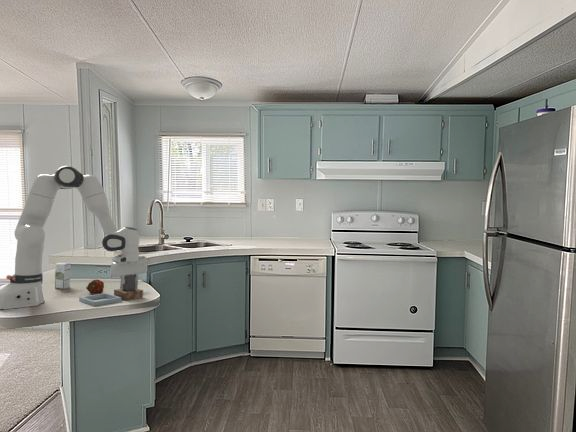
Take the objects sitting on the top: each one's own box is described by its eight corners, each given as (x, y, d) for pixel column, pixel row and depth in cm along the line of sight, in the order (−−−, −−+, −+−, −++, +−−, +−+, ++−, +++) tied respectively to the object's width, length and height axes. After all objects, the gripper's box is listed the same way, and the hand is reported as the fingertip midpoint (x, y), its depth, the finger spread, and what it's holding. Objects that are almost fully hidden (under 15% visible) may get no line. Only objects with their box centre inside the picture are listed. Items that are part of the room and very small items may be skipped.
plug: (127, 291, 215) (128, 276, 214) (122, 289, 217) (123, 275, 217) (135, 290, 218) (135, 275, 218) (130, 288, 221) (130, 274, 221)
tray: (94, 306, 197) (94, 302, 197) (79, 300, 206) (79, 297, 206) (121, 301, 209) (121, 297, 209) (106, 296, 217) (106, 292, 217)
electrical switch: (119, 292, 229) (120, 275, 229) (121, 291, 234) (122, 275, 234) (137, 292, 231) (137, 276, 231) (138, 291, 236) (139, 275, 236)
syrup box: (70, 287, 236) (71, 262, 236) (63, 289, 230) (64, 263, 230) (61, 286, 237) (61, 261, 236) (54, 288, 231) (55, 263, 230)
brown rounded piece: (95, 299, 217) (92, 297, 227) (109, 288, 222) (106, 287, 232) (85, 286, 215) (82, 285, 225) (99, 276, 220) (96, 276, 230)
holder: (125, 300, 210) (125, 293, 210) (113, 297, 217) (114, 289, 216) (142, 297, 219) (143, 290, 219) (131, 294, 225) (131, 287, 225)
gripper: (143, 255, 228) (142, 279, 228) (109, 258, 211) (108, 284, 211) (150, 256, 224) (149, 281, 224) (115, 259, 207) (115, 286, 208)
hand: (129, 282), depth 218 cm, fingers closed on plug, 4 cm apart
